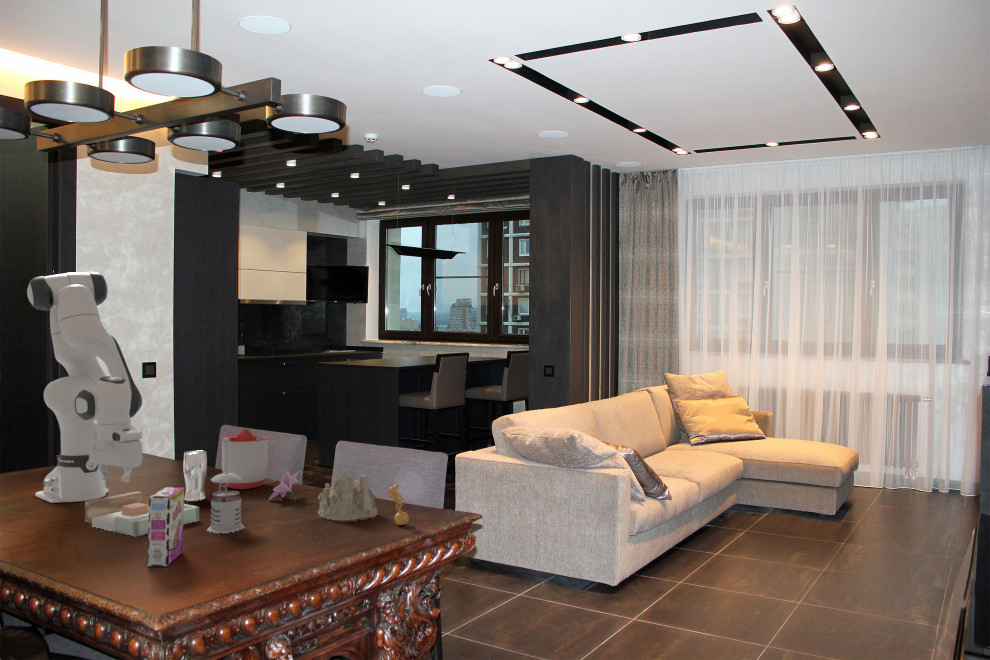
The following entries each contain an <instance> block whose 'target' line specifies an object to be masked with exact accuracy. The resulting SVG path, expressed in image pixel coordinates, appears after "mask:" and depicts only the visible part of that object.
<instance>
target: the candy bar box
mask: <svg viewBox="0 0 990 660" xmlns="http://www.w3.org/2000/svg"><path fill="white" fill-rule="evenodd" d="M148 500H149V501H148V505H149V526H148V528H149V531H148V534H147V535H148V536H147V538H148V539H147V567H149V568H151V567H152V568H155V567H156V568H160V567H161V568H165V567H169V566H170V565H171V564H172V563H173V562H175V561H176V559H177V558H178V557H179V556H181V555H182V554H183V552H184V525H183V517H184V504H185V487H183V486H182V487H181V486H180V487H179V486H177V487H175V486H169V487H168V486H167V487H163V488H162V489H160V490H159V491H156V492H155V493H153V494H151V495H150V496H149V497H148Z"/></svg>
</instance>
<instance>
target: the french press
mask: <svg viewBox="0 0 990 660" xmlns="http://www.w3.org/2000/svg"><path fill="white" fill-rule="evenodd" d="M223 442H224V443H226V472H225V473H223V472H222V473H219V474H217V475H214V476H213V477H211V479H210V481H211V482H212V483H214V484H219V486H218V491H215V492H213V493H212V494H211V495H212V496H213V498H211V499H210V506H211V507H210V526H209V527H208V528H207V530H206V532H208V531H209V532H208V533H211V532H213V533H212V534H220V533H222V534H231V533H230V532H232V533H236V532H235V531H237V532H240V531H239V530H241V529H242V530H244V529H245V526H244V525H243V523H242V497H241V496H239V495H240V494H241V493H240V491H238V490H227V489H228V487H227V485H228V483H235V482H239V481H241V479H242V478H241V477H240V476H238V475H236V474H233V473H228V472H227V442H230V439H229V438H224V440H223ZM223 484H225V485H223ZM221 487H222V488H224V490H221ZM223 500H224V502H223ZM243 528H244V529H243ZM242 530H241V531H242Z"/></svg>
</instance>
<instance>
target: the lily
mask: <svg viewBox="0 0 990 660" xmlns="http://www.w3.org/2000/svg"><path fill="white" fill-rule="evenodd" d="M300 472H301V470H299V471H297V472H295V473H294V474H293V475H292V476H291V474H290V473H289V471H285V473H284V474H283V476H282V477H281V480H280V484H278V485H277V486H274V488H273V489H272V491H273V493H272V494H271V495H270V497H269V499H268V500H267V502H270V501H271V500H273V498H275V497H277V496H278V495H280V496H281V497H282V498H285V496H286V494H287V493H288V492H290V493H291V494H292V496H293V499H295V501H296V500H297V498H296V496H295V494H294V493H293V491H292V486H293V485H294V484H296V483H297V482H298V480H299V479H297V476H298V475H299V474H300ZM269 500H270V501H269Z"/></svg>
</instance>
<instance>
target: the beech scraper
mask: <svg viewBox="0 0 990 660" xmlns="http://www.w3.org/2000/svg"><path fill="white" fill-rule="evenodd" d="M84 502H85V503H84V509H85V510H84V515H85V516H84V518H85V519H84V520H85V521H84V523H86V522H89V523H88V524H90V523H91V524H92V518H94V517H98V516H103V515H107V514H112V513H116V512H120V511H122V506H124V505H129V504H134V503H142V504H143V492H142V491H137V490H136V491H135V490H134V491H132V492H126V493H122V494H115V495H112V496H107V497H101V498H97V499H93V500H86V501H84Z"/></svg>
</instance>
